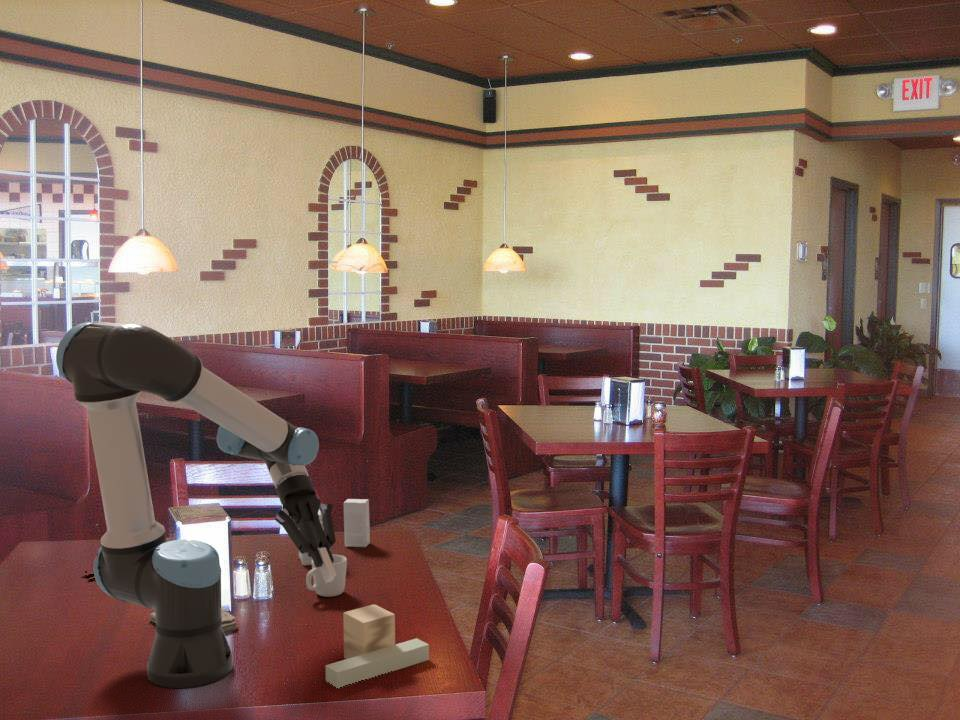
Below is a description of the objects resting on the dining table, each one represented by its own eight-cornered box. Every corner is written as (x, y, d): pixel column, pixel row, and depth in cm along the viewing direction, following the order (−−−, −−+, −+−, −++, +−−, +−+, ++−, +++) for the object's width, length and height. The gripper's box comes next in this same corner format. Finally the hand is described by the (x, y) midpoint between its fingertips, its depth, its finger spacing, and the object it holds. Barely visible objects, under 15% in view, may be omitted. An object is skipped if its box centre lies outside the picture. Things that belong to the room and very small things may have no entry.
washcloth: (190, 646, 195) (190, 631, 194) (146, 623, 207) (145, 609, 207) (242, 630, 203) (242, 615, 203) (197, 609, 215) (196, 595, 215)
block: (363, 669, 182) (363, 623, 181) (344, 658, 188) (343, 612, 187) (395, 660, 187) (394, 614, 186) (374, 648, 192) (374, 604, 191)
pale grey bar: (337, 688, 174) (336, 672, 174) (325, 681, 177) (325, 665, 177) (428, 659, 187) (428, 644, 186) (416, 653, 190) (416, 638, 190)
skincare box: (370, 543, 263) (369, 499, 262) (366, 547, 259) (365, 503, 258) (348, 542, 264) (347, 498, 263) (343, 546, 260) (343, 502, 259)
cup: (320, 605, 216) (319, 570, 215) (295, 598, 221) (294, 563, 220) (354, 592, 224) (354, 558, 224) (330, 585, 229) (329, 552, 228)
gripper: (313, 489, 218) (352, 582, 206) (259, 496, 210) (295, 593, 198) (325, 469, 213) (365, 563, 201) (270, 476, 205) (308, 574, 193)
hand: (330, 578), depth 200 cm, fingers closed
